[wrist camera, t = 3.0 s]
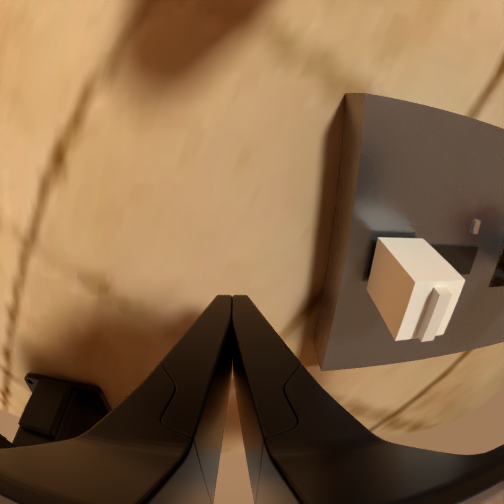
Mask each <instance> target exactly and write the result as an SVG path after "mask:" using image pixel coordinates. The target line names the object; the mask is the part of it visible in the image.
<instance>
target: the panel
mask: <svg viewBox="0 0 504 504" xmlns="http://www.w3.org/2000/svg"><path fill="white" fill-rule="evenodd" d="M378 237H386V238H423V239H424V240H425V241H426V242H427V243H428V244H429V245H430V246H432V247H433V248H434V249H435V250H436V251H437V252H438V253H439V254H440V255H441V256H442V257H443V258H444V259H445V260H446V261H447V262H448V263H449V264H450V265H451V266H452V267H453V268H454V269H455V270H456V271H457V272H458V273H459V274H460V275H461V276H462V277H463V278H464V279H465V282H464V285H463V288H462V290H461V293H460V296H459V298H458V301H457V303H456V306H455V308H454V311H453V313H452V315H451V318H450V320H449V322H448V325H447V327H446V329H445V332H444V334H443V335H437V336H435V338H434V340H432V341H425V342H421V341H420V339H419V338H415V339H407V340H399V341H395V340H394V338H393V336H392V334H391V332H390V330H389V329H388V327H387V325H386V323H385V321H384V320H383V318H382V316H381V314H380V312H379V311H378V309H377V307H376V305H375V303H374V302H373V300H372V298H371V296H370V295H369V293H368V291H367V285H368V280H369V276H370V272H371V267H372V263H373V258H374V254H375V249H376V244H377V239H378ZM503 243H504V129H502V128H499V127H496V126H494V125H491V124H488V123H485V122H482V121H479V120H476V119H473V118H469V117H466V116H463V115H459V114H456V113H452V112H449V111H445V110H441V109H438V108H434V107H430V106H426V105H421V104H417V103H413V102H408V101H403V100H399V99H394V98H388V97H383V96H378V95H372V94H366V93H346V95H345V112H344V126H343V139H342V151H341V162H340V172H339V181H338V191H337V199H336V208H335V216H334V224H333V231H332V238H331V245H330V252H329V259H328V266H327V272H326V278H325V284H324V290H323V296H322V302H321V308H320V313H319V319H318V324H317V329H316V334H315V339H314V346H315V350H316V353H317V357H318V361H319V365H320V369H321V371H328V370H340V369H351V368H361V367H370V366H378V365H386V364H394V363H401V362H407V361H414V360H420V359H426V358H432V357H437V356H443V355H448V354H453V353H458V352H463V351H467V350H472V349H476V348H481V347H485V346H489V345H493V344H497V343H501V342H504V264H503V267H496V264H497V261H498V259H499V256H500V253H501V249H502V246H503Z"/></svg>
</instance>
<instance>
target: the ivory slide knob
mask: <svg viewBox="0 0 504 504" xmlns="http://www.w3.org/2000/svg"><path fill="white" fill-rule="evenodd" d="M464 282H465V279H464V278H463V277H462V276H461V275H460V274H459V273H458V272H457V271H456V270H455V269H454V268H453V267H452V266H451V265H450V264H449V263H448V262H447V261H446V260H445V259H444V258H443V257H442V256H441V255H440V254H439V253H438V252H437V251H436V250H435V249H434V248H433V247H432V246H430V245H429V244H428V243H427V242H426V241H425V240H424V239H423V238H386V237H378V239H377V244H376V249H375V254H374V258H373V263H372V267H371V272H370V276H369V280H368V285H367V291H368V293H369V295H370V296H371V298H372V300H373V302H374V303H375V305H376V307H377V309H378V311H379V312H380V314H381V316H382V318H383V320H384V321H385V323H386V325H387V327H388V329H389V330H390V332H391V334H392V336H393V338H394V340H395V341H399V340H407V339H415V338H419V339H420V341H421V342H425V341H432V340H434V338H435V336H437V335H443V334H444V332H445V329H446V327H447V325H448V322H449V320H450V318H451V315H452V313H453V311H454V308H455V306H456V303H457V301H458V298H459V296H460V293H461V290H462V288H463V285H464Z"/></svg>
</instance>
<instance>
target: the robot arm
mask: <svg viewBox="0 0 504 504" xmlns="http://www.w3.org/2000/svg"><path fill="white" fill-rule="evenodd" d="M232 360H233V376H234V383H235V390H236V397H237V403H238V410H239V416H240V423H241V429H242V435H243V441H244V447H245V453H246V459H247V465H248V471H249V477H250V482H251V488H252V493H253V499H254V504H504V445H501V446H499V447H497V448H495V449H494V450H491V451H488V452H486V453H482V454H476V455H458V454H450V453H444V452H436V451H431V450H425V449H419V448H414V447H409V446H404V445H399V444H394V443H391V442H388V441H385V440H383V439H381V438H379V437H378V436H376V435H375V434H373V433H372V432H370V431H369V430H368V429H367V428H366V427H364V426H363V425H362V424H361V423H360V422H359V421H358V420H357V419H355V418H354V417H353V416H352V415H351V414H350V413H349V412H348V411H346V410H345V409H344V408H343V407H342V406H341V405H340V404H339V403H338V402H337V401H335V400H334V399H333V398H332V397H331V396H330V395H329V394H328V393H327V392H326V391H325V390H324V389H323V388H322V387H321V386H320V385H319V384H318V383H317V381H316V380H315V379H314V378H313V377H312V376H311V375H310V373H309V372H308V371H307V370H306V368H305V367H304V366H303V365H302V364H301V362H300V361H299V360H298V359H297V357H296V356H295V355H294V354H293V352H292V351H291V350H290V349H289V347H288V346H287V345H286V344H285V343H284V341H283V340H282V339H281V337H280V336H279V335H278V334H277V332H276V331H275V330H274V329H273V327H272V326H271V325H270V324H269V322H268V321H267V320H266V319H265V317H264V316H263V315H262V314H261V312H260V311H259V310H258V308H257V307H256V306H255V305H254V303H253V302H252V301H251V299H250V298H249V297H248V296H247V295H234V296H233V297H232V296H231V295H217V296H216V297H215V298H214V300H213V301H212V302H211V303H210V304H209V305H208V307H207V308H206V309H205V310H204V311H203V312H202V314H201V315H200V316H199V317H198V318H197V320H196V321H195V322H194V323H193V324H192V325H191V327H190V328H189V329H188V330H187V331H186V332H185V334H184V335H183V336H182V337H181V338H180V339H179V341H178V342H177V343H176V344H175V345H174V346H173V348H172V349H171V350H170V351H169V352H168V353H167V355H166V356H165V357H164V358H163V359H162V360H161V362H160V364H158V365H157V366H156V367H155V368H154V370H153V371H152V372H151V373H150V374H149V375H148V376H147V377H146V378H145V380H144V381H143V382H142V383H141V384H140V385H139V386H138V387H137V388H136V389H135V390H134V391H133V392H132V393H131V394H130V395H128V396H127V397H126V398H125V399H124V400H123V401H122V402H121V403H120V404H118V405H117V406H116V407H115V408H114V409H113V410H111V408H110V406H109V404H108V402H107V400H106V398H105V396H104V394H103V392H102V391H101V389H99V388H98V387H96V386H91V385H85V384H79V383H73V382H68V381H63V380H57V379H53V378H48V377H43V376H39V375H34V374H30V373H27V374H26V376H25V378H24V379H25V381H26V383H27V385H28V386H29V388H30V389H31V391H32V394H31V396H30V398H29V401H28V403H27V405H26V407H25V409H24V411H23V413H22V415H21V418H20V420H19V428H18V431H17V433H16V435H15V438H14V440H13V443H11V442H9V441H8V440H7V439H6V438H5V437H4V436H2V435H1V434H0V504H213V502H214V495H215V488H216V481H217V474H218V467H219V460H220V453H221V446H222V439H223V432H224V425H225V418H226V411H227V404H228V397H229V390H230V383H231V375H232Z"/></svg>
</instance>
